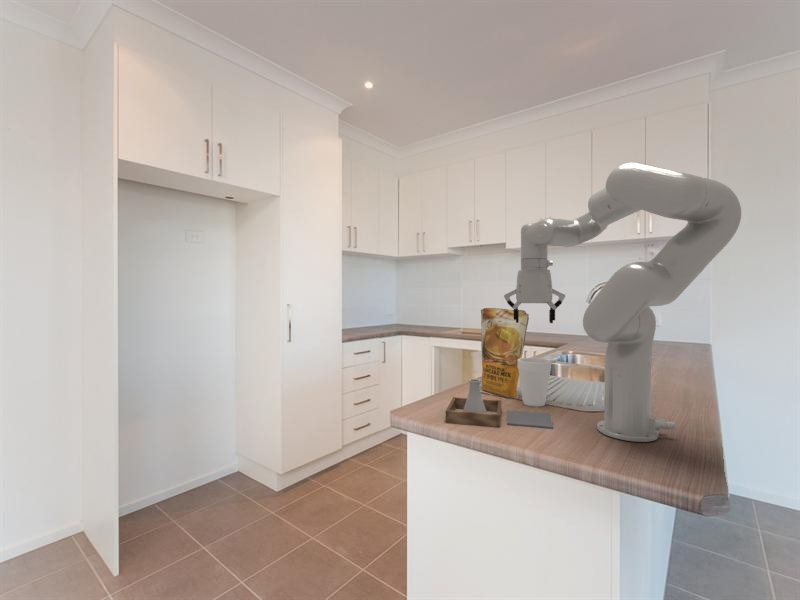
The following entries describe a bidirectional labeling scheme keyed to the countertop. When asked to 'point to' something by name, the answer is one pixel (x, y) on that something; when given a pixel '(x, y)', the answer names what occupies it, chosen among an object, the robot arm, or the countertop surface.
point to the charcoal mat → (529, 419)
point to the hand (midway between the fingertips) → (533, 322)
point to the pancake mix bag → (502, 350)
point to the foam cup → (534, 380)
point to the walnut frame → (474, 413)
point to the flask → (474, 398)
